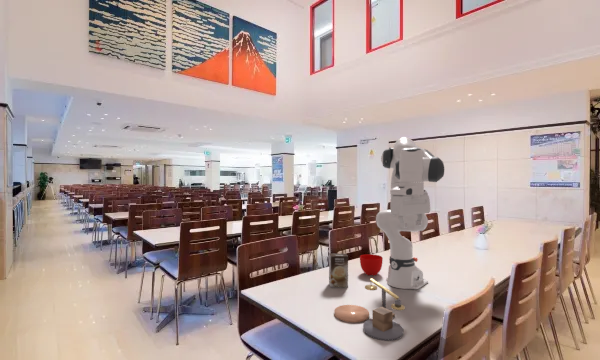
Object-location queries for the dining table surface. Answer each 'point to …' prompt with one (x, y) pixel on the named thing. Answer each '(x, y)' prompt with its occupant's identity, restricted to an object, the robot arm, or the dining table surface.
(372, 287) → the balance
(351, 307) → the terracotta dish
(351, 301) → the dining table surface
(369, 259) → the ceramic cup
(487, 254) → the dining table surface
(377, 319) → the walnut block
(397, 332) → the charcoal dish
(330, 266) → the coffee box
